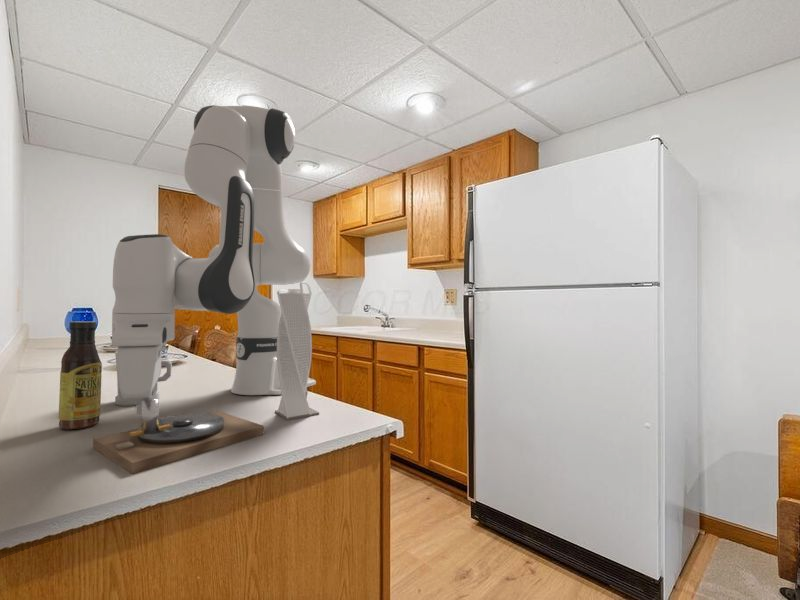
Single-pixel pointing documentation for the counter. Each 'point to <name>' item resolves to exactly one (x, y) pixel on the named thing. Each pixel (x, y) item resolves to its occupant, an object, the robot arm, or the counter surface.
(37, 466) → the counter surface
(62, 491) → the counter surface
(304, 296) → the skyscraper
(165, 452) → the stand
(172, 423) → the dial
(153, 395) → the cup
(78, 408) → the sauce bottle
